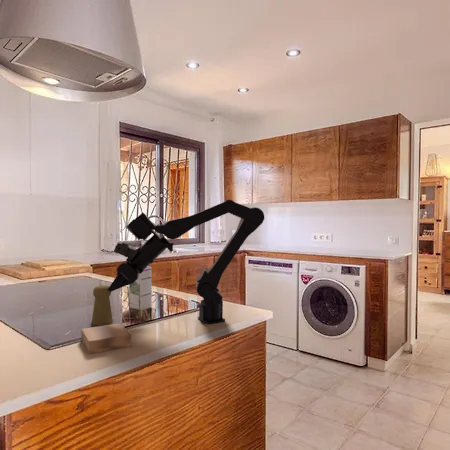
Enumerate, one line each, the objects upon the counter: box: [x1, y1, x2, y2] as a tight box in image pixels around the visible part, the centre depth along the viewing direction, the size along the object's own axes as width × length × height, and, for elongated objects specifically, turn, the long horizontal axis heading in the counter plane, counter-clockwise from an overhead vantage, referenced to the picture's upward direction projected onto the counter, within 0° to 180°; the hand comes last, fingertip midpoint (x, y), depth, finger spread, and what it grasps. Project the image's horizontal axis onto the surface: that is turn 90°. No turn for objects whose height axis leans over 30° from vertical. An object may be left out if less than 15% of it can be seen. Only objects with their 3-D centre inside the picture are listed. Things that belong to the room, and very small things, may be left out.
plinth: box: [80, 323, 132, 355], centre depth 90 cm, size 10×10×3 cm
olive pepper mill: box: [91, 285, 113, 326], centre depth 107 cm, size 6×6×11 cm
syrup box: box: [128, 265, 153, 311], centre depth 123 cm, size 6×6×14 cm
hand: (112, 287), depth 107 cm, fingers open, 9 cm apart
